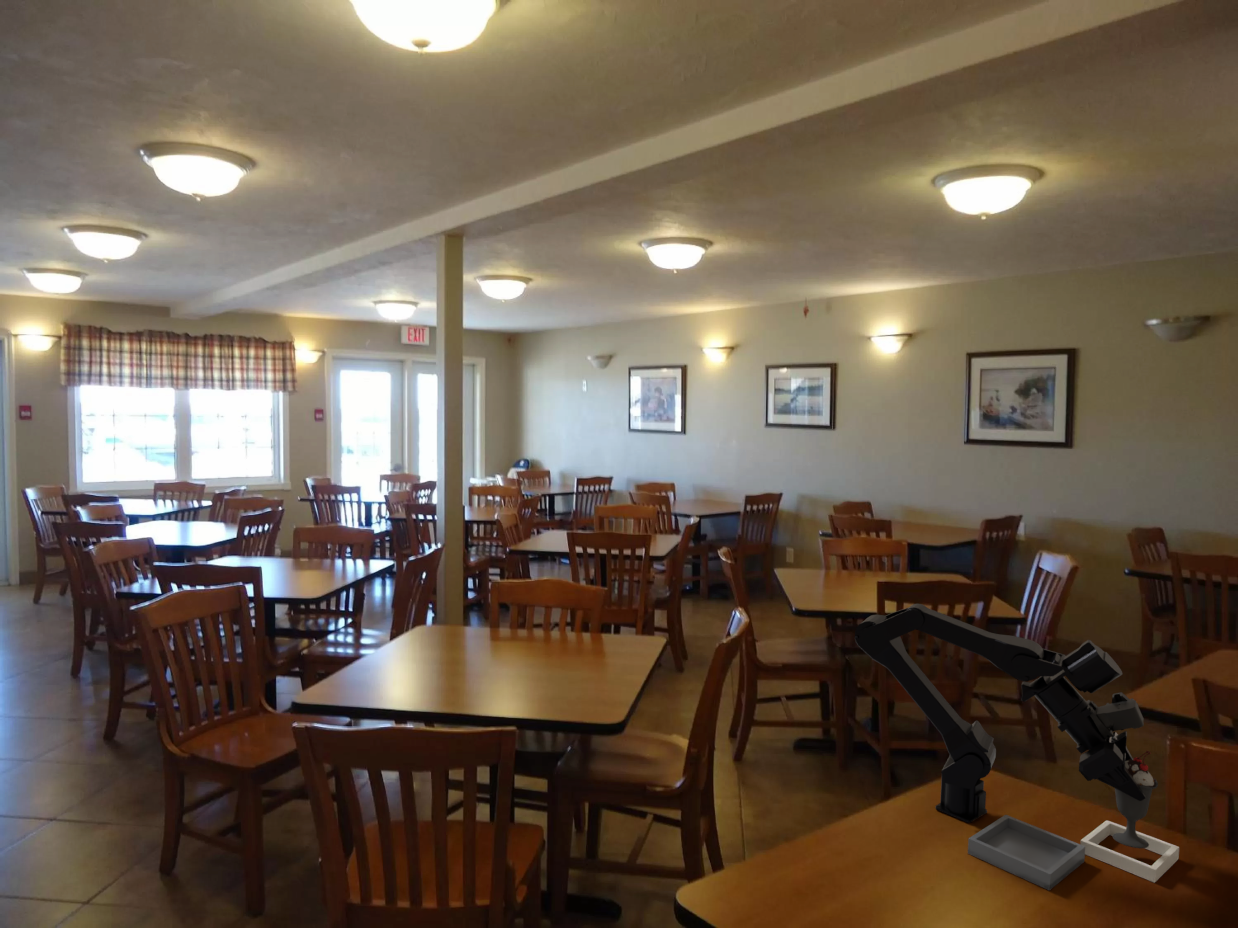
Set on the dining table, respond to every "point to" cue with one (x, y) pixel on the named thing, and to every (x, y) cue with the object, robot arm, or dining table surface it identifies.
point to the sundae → (1135, 802)
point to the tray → (1027, 851)
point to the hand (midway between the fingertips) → (1143, 790)
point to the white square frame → (1126, 863)
